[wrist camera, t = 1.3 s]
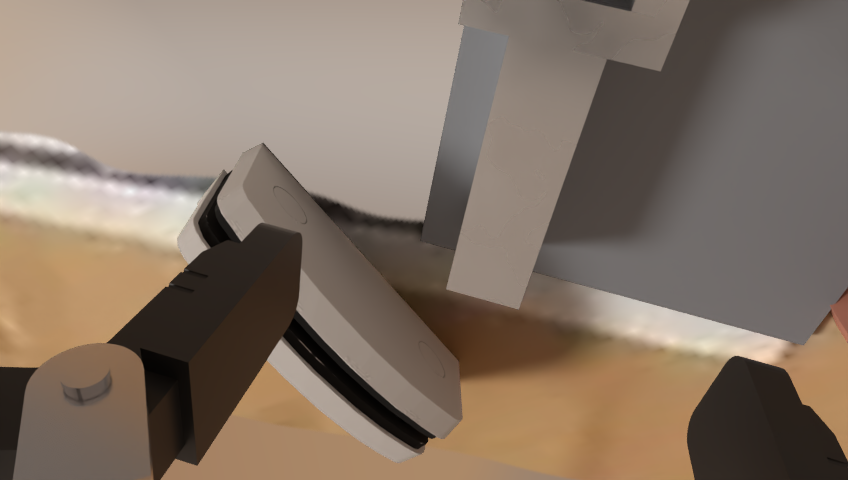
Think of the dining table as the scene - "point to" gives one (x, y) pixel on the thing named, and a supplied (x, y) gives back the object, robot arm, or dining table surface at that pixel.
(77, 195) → the dining table surface
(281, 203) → the grey arched slotted block
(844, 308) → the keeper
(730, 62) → the board
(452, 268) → the grey long bar
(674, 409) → the dining table surface
